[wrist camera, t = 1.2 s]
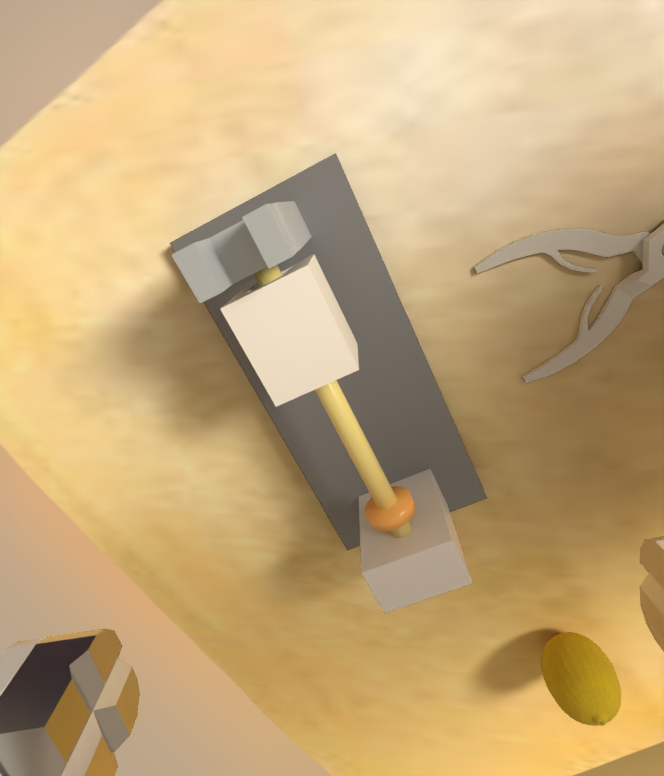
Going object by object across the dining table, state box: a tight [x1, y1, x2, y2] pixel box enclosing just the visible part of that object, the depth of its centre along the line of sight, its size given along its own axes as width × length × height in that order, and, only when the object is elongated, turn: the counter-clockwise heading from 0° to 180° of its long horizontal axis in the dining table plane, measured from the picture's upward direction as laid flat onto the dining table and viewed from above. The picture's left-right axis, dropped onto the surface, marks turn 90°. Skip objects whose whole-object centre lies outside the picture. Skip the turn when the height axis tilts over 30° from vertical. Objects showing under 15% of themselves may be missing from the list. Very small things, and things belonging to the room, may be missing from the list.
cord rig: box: [170, 153, 487, 613], centre depth 31 cm, size 12×27×12 cm, turn 26°
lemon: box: [541, 632, 621, 725], centre depth 41 cm, size 6×6×8 cm
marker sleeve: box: [220, 254, 359, 407], centre depth 28 cm, size 5×6×5 cm
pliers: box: [474, 220, 664, 383], centre depth 33 cm, size 10×2×15 cm
